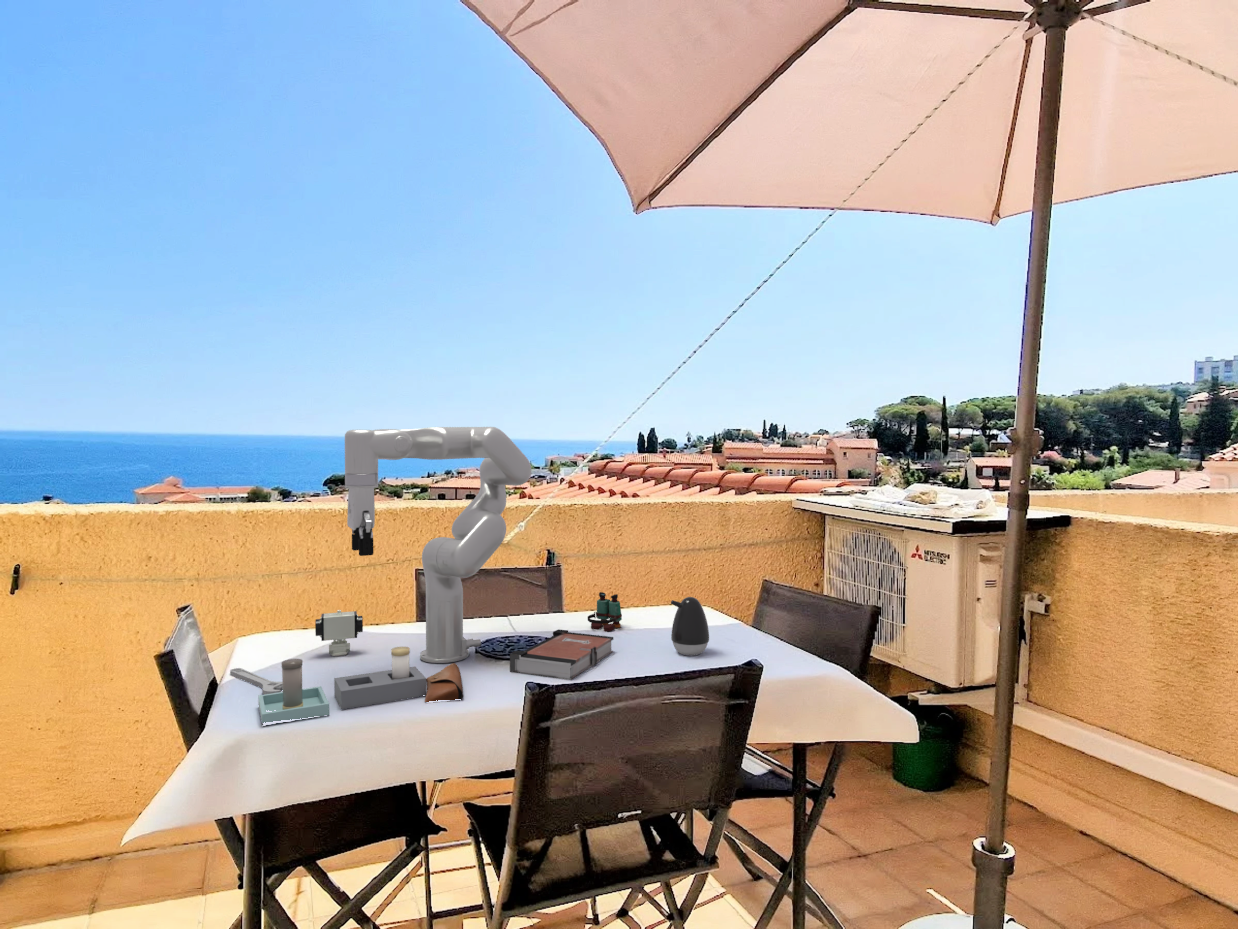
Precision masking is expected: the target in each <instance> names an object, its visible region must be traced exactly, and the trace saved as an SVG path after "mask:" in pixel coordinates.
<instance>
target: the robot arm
mask: <svg viewBox="0 0 1238 929" xmlns="http://www.w3.org/2000/svg"><path fill="white" fill-rule="evenodd" d="M402 459H420V460H431V461H432V460H441V461H443V460H455V459H456V460H460V459H461V460H462V459H463V460H464V459H483V460H482V461H481V463H480V466H479V481H480V482H479V483H480V486H479V487H480V488H479V491H478V493H477V495H476V496H475V497H474V498H473V499H472V501H471V502H470V503H469V504H468V505H467V506H466V507H465V508H464V509H463V510H462V512H461V513H460V514H459V515H458V516H457V517H456V519H454V521H453V523H452V526H451V533H452V536H453V537H445V536H443V537H442V536H441V537H435V538H432V539H430V540H429V541H428V542H427V543H426V544H425V545H424V548H423V549H422V554H421V562H422V568H423V573H424V581H425V582H424V583H425V649H424V650H423V651H421V652H420V655H419V658H420V659H421V661H423V662H426V663H431V664H449V663H455V662H460V661H463V660H465V659H467V658H468V657H469V656H470V651H469V649H470V648H477V647H478V648H479V647H481V646H482V639H480V638H476V639H474V638H468V639H467V638H465V637H464V603H463V602H464V589H463V583H462V578H469V577H472V576H473V575H475V574H476V573H478V572H479V570H481V568H483V566H484V565H485V563H487V562H488V561H489V559H490V558H491V557H492V556H493V555H494V553H495V552H496V551H497V550H498V549H499V548H500V546H501V544H503V541H504V539H505V537H506V533H507V525H506V524H507V523H506V521H505V519H504V517H503V516H502V513H503V512H504V511H505V508H506V505H507V494H506V492H507V491H506V486H515V487H517V486H521V485H524V484H525V483H527V482H528V481H529V480H530V477H531V475H532V466H531V463H530V461H529V459H528V457H527V456H526V455H525V454H524V453H523V452H522V450H521V449H520V448H519V447H518V446H517V445H516V444H515V442H514V441H513V440H512V439H511V438H510V437H509V436H508V435H507V434H506V433H505V432H503V431H502V430H501V429H500V428H498V427H495V426H452V427H451V426H434V427H422V428H412V429H411V428H410V429H409V428H408V429H397V428H386V429H382V428H381V429H380V428H379V429H350V430H347V431H346V432H345V433H344V488H345V489H348V494H347V519H346V520H347V524H346V525H347V527H348V528H350V529H351V532H352V533H351V550H352V551H354V552H355V551H356V552H357V551H358V555H359V556H360V557H365V556H373V555H374V534H373V529H374V527H375V523H376V522H375V517H376V512H375V511H376V510H375V509H376V507H375V506H376V505H375V488H379V460H389V461H397V460H398V461H399V460H402Z"/></svg>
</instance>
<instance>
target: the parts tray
mask: <svg viewBox="0 0 1238 929" xmlns="http://www.w3.org/2000/svg"><path fill="white" fill-rule="evenodd" d="M302 694H303V707H297V708H291V709H285V710H283V706H282V705H283V691H281V692H279V693H272V694H265V695H263V694H260V695H258V700H257V702H258V705H259V707H258V711H259V710H260V713H259V716H260V715H261V718H260V721H261V720H262V723H264V722H265V723H266V722H273V721H281V720H290V719H291V720H292V719H300V718H301V719H302V718H308V717H314V716H324V715H329V716H330V702H329V700H328V698H327V696H326V694H325V692H324V689H323V687H322V686H321V685H320V686H314V687H306V688H302ZM266 710H267V711H268V710H269V711H272V712H266ZM274 710H276V711H274ZM324 717H325V716H324Z"/></svg>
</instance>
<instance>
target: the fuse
mask: <svg viewBox="0 0 1238 929" xmlns="http://www.w3.org/2000/svg"><path fill="white" fill-rule="evenodd" d="M390 653H391V670H392V680H395V679H402V678H408V677H409V667H410V653H411V648H410V647H408V646H396V647H393V648H391V650H390Z"/></svg>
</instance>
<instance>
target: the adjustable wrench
mask: <svg viewBox="0 0 1238 929" xmlns="http://www.w3.org/2000/svg"><path fill="white" fill-rule="evenodd" d="M229 672H230V673H229V674H230V676H231V677H234V678H235V679H238V680H241V679H242V680H241V681H243V680H245V681H244V682H246V681H247V682H246V683H248V682H250V683H249V684H251V683H253V684H255V685H256V687H258V686H259V687H258V688H260V687H261V688H260V689H262V688H263V689H262V695H263V694H264V695H265V694H272V693H279V692H282V690H283V683H282V681H274V680H269V679H267V678H265V677H262V676H261V675H258V674H256V673H253V672H251V671H249V670H246V669H243V668H240V667H238V668H237V667H236V668H232V669H230V670H229ZM253 684H252V685H253ZM255 685H254V686H255Z"/></svg>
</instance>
